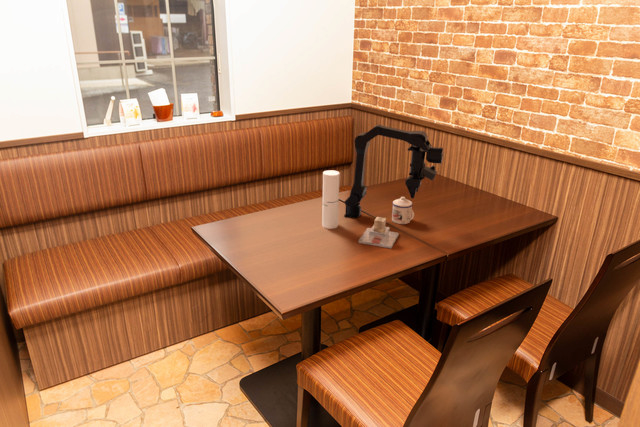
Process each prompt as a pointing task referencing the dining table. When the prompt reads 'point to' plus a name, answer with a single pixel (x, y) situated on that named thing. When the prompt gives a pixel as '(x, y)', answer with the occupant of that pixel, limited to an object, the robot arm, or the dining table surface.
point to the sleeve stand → (379, 237)
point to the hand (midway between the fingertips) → (414, 194)
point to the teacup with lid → (402, 211)
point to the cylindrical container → (330, 199)
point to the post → (379, 224)
